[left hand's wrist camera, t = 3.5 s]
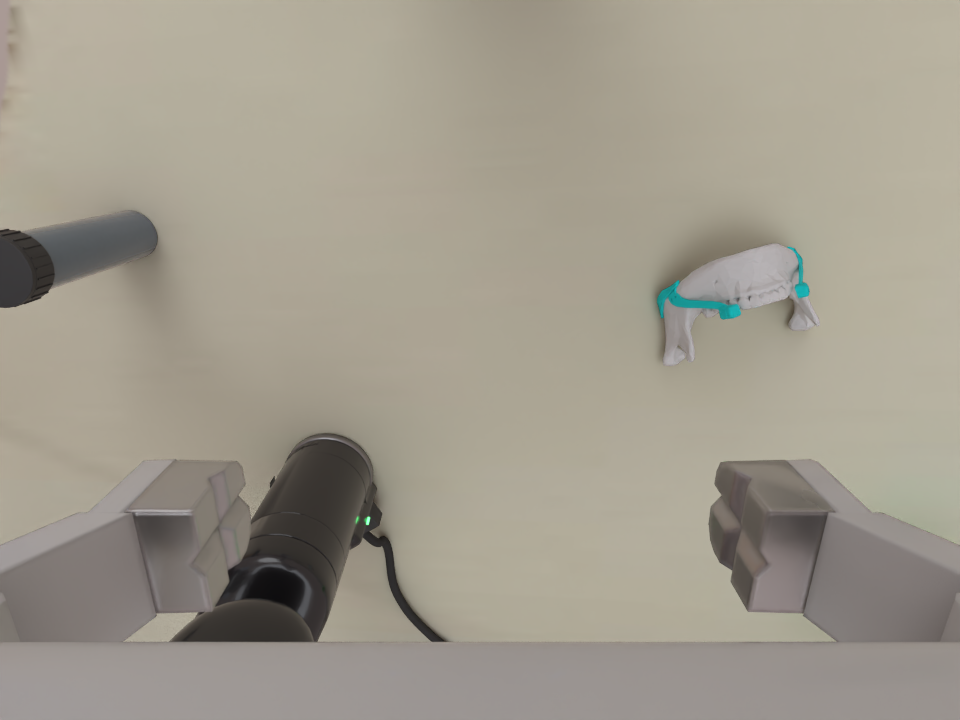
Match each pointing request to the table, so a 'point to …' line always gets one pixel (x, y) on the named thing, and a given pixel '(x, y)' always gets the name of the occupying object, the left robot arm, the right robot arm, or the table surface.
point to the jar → (95, 244)
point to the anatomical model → (733, 294)
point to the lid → (23, 269)
